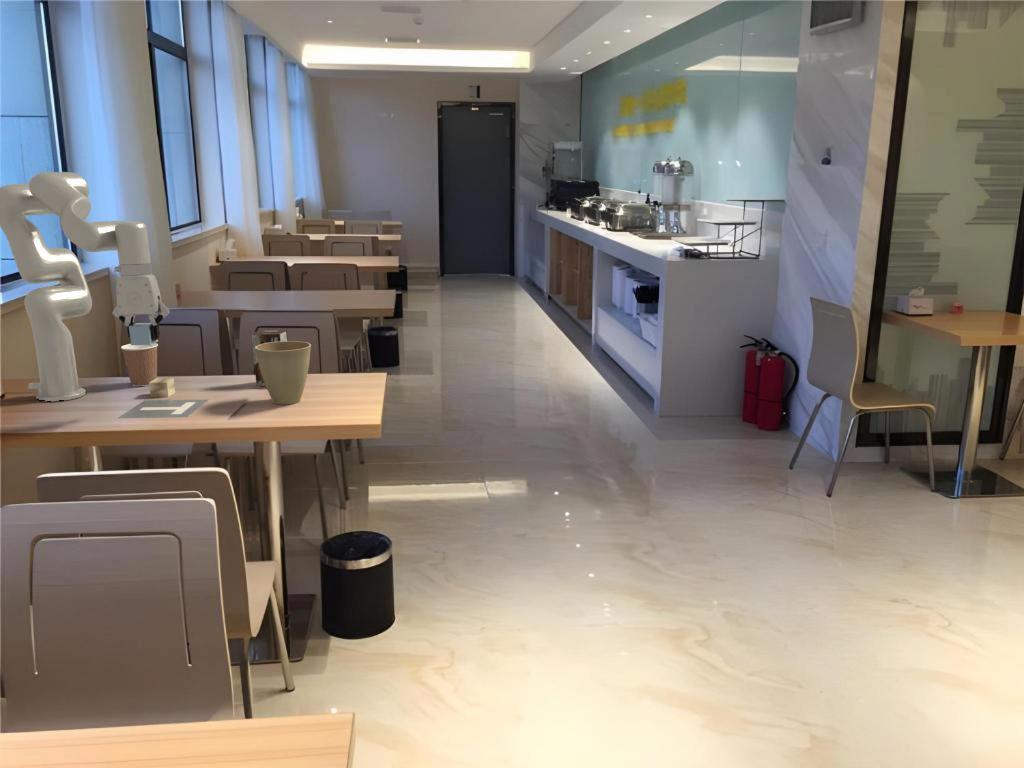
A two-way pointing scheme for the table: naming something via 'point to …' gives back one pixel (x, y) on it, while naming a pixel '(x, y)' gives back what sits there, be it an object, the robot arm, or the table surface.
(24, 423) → the table surface
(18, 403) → the table surface
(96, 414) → the table surface
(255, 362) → the coffee box
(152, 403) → the letter board
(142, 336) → the blue cube
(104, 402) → the table surface
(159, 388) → the wood block
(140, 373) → the coffee cup
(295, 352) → the plant pot
